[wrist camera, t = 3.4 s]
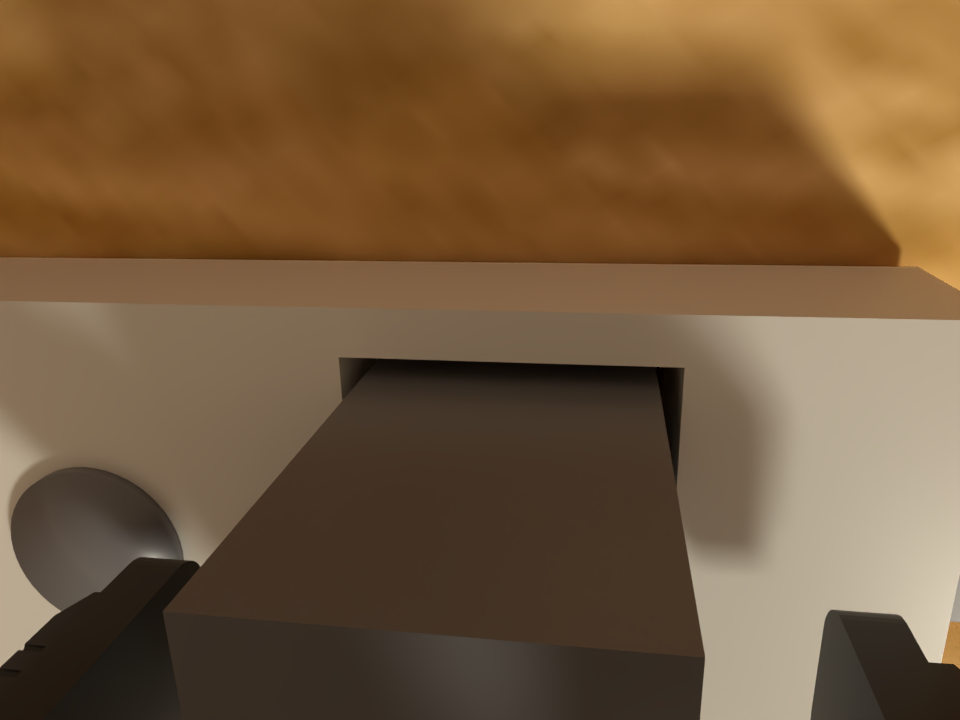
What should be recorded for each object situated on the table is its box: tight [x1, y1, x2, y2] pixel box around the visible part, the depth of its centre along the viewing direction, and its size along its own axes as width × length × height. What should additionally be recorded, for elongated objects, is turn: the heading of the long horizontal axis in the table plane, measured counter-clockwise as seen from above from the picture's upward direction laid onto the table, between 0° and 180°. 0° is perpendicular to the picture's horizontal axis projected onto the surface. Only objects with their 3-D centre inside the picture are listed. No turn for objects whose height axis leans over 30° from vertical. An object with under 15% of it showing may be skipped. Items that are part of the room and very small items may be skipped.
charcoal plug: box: [163, 358, 705, 720], centre depth 10 cm, size 4×6×8 cm, turn 2°
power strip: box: [0, 257, 960, 720], centre depth 13 cm, size 23×8×4 cm, turn 91°
